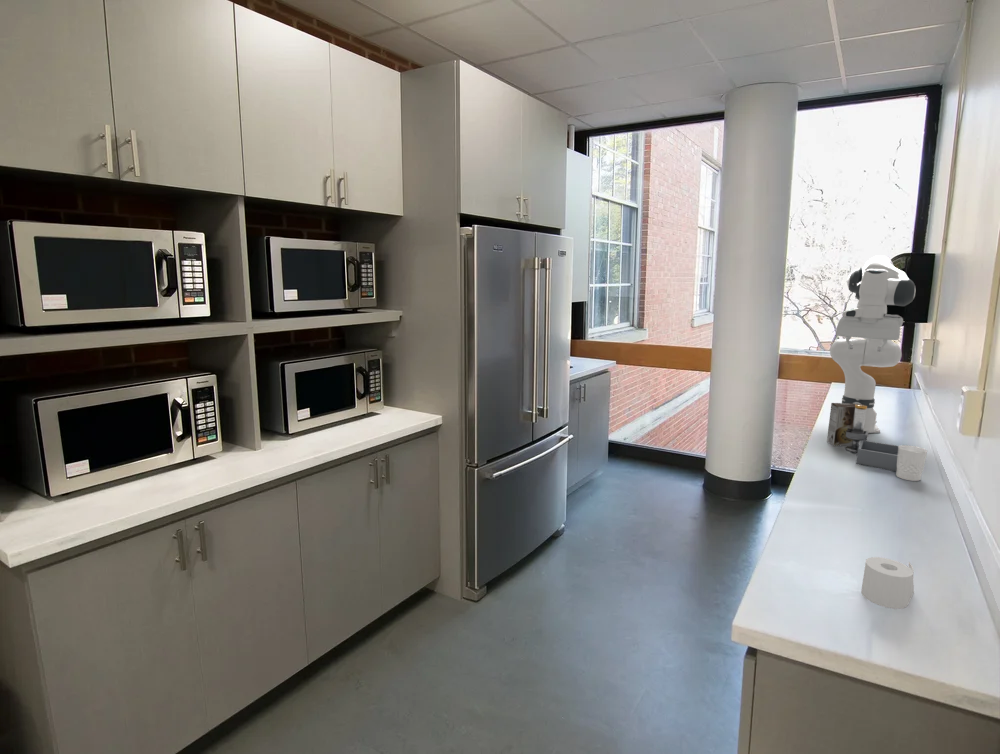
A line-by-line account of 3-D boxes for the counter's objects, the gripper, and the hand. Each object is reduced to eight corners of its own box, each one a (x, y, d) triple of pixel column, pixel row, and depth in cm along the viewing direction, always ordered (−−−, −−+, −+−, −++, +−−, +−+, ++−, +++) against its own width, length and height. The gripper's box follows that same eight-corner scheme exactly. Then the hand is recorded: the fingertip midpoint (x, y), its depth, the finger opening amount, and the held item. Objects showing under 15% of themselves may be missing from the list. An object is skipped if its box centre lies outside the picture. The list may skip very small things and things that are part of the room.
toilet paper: (913, 592, 123) (919, 561, 122) (904, 614, 115) (909, 581, 114) (869, 577, 128) (873, 548, 127) (856, 597, 120) (861, 566, 119)
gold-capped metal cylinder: (850, 434, 224) (855, 403, 221) (863, 436, 221) (868, 405, 219) (849, 436, 220) (854, 405, 218) (862, 438, 218) (867, 407, 216)
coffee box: (849, 442, 233) (855, 403, 230) (857, 447, 227) (863, 407, 224) (825, 441, 234) (830, 402, 231) (833, 446, 228) (838, 405, 225)
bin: (859, 454, 218) (861, 439, 217) (906, 462, 210) (908, 447, 209) (855, 464, 206) (858, 449, 205) (905, 473, 198) (908, 457, 197)
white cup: (895, 479, 192) (900, 449, 190) (892, 472, 199) (896, 443, 197) (924, 483, 188) (929, 453, 187) (920, 476, 195) (925, 447, 194)
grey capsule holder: (845, 447, 226) (847, 428, 225) (865, 450, 223) (868, 431, 221) (843, 451, 221) (846, 432, 220) (864, 455, 217) (867, 435, 216)
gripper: (904, 314, 213) (898, 352, 215) (839, 311, 224) (835, 347, 227) (903, 315, 208) (898, 353, 210) (838, 311, 219) (833, 348, 221)
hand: (864, 350), depth 218 cm, fingers open, 8 cm apart
